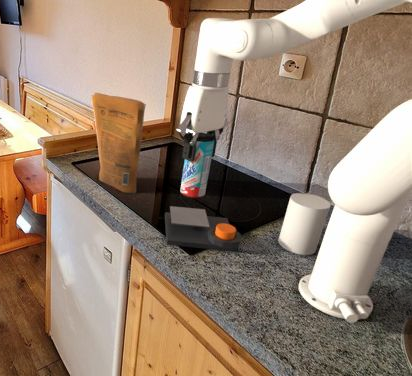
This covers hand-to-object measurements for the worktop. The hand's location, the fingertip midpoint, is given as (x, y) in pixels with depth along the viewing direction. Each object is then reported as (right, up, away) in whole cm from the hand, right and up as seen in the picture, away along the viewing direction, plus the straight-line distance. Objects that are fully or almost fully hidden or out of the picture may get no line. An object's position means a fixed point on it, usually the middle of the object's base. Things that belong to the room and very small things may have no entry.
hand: (198, 156), depth 95 cm
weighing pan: (0, -15, +7) cm, 16 cm away
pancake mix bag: (-17, -7, +31) cm, 36 cm away
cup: (+24, -21, +2) cm, 32 cm away
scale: (+2, -19, +6) cm, 20 cm away
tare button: (+6, -19, 0) cm, 20 cm away
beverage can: (0, -9, +4) cm, 10 cm away
